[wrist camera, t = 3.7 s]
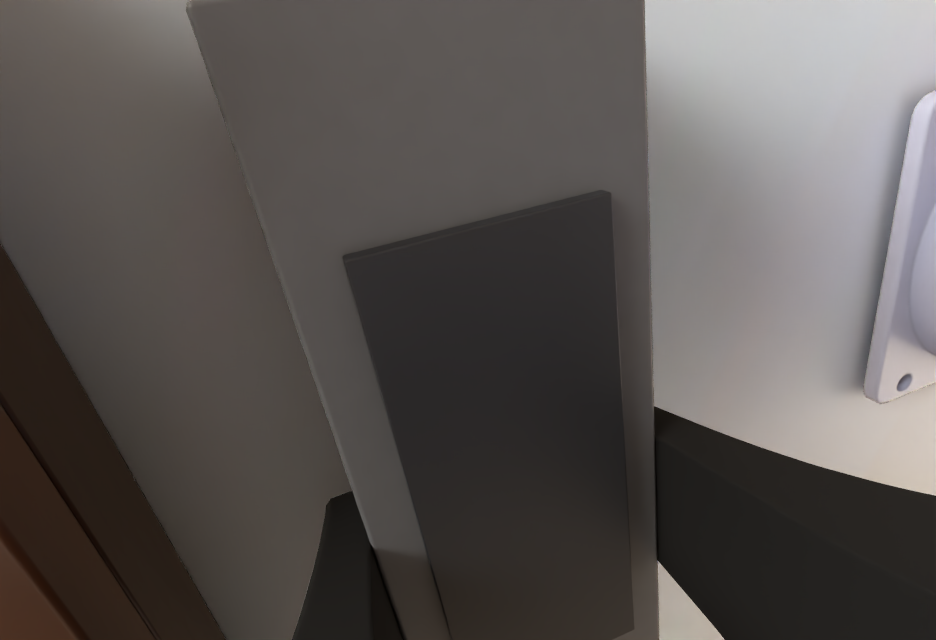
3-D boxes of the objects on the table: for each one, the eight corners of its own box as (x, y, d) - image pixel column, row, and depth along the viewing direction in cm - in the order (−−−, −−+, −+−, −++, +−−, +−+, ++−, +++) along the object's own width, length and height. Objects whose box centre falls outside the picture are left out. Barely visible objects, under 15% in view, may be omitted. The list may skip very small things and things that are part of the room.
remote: (522, -6, 8) (660, -73, 5) (592, 638, 15) (670, 772, 12) (222, 41, 7) (176, -7, 4) (440, 708, 14) (483, 874, 11)
